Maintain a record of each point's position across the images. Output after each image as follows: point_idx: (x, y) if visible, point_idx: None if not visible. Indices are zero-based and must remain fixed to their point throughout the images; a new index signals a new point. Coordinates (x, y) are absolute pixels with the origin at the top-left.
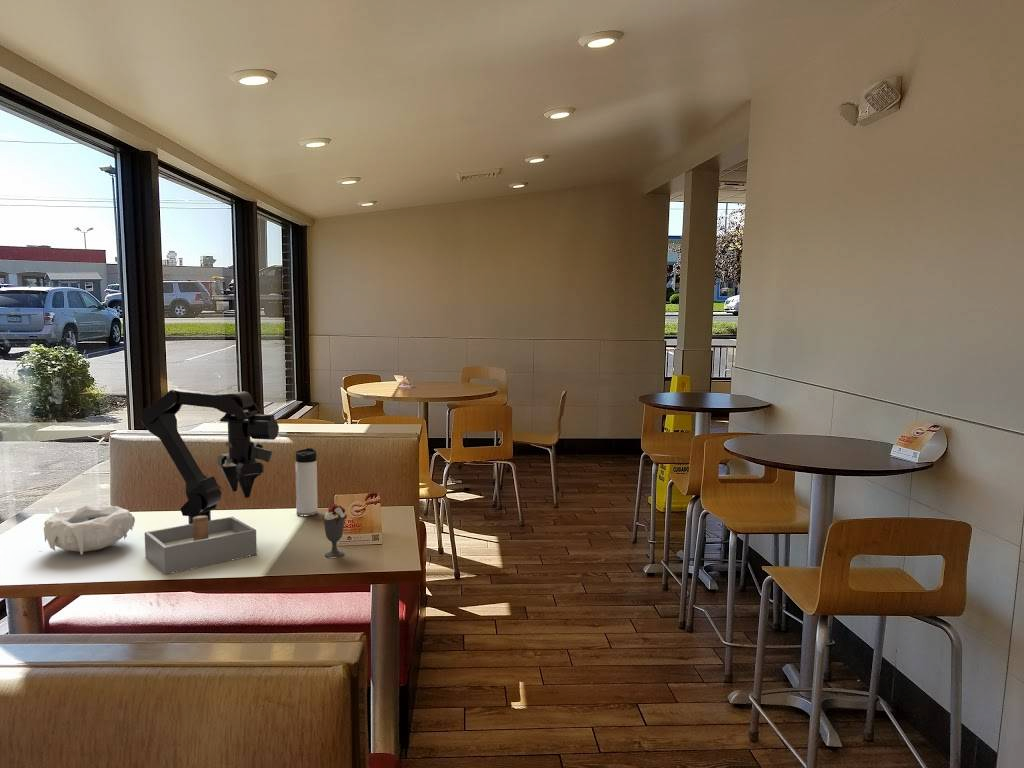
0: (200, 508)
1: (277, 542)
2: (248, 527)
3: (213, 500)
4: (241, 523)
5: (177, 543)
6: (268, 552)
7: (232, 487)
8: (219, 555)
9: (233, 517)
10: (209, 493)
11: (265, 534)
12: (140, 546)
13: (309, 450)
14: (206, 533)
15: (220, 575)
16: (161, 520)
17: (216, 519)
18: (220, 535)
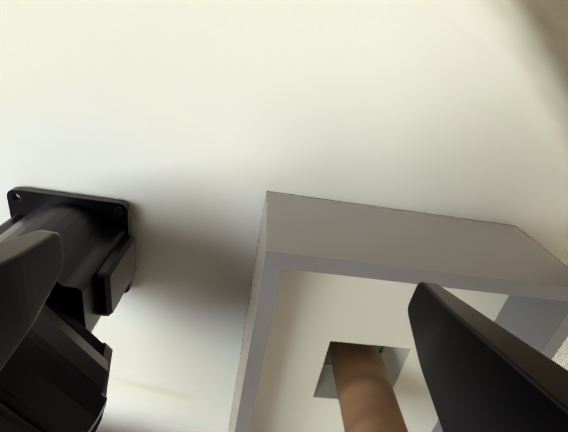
0: (106, 381)
1: (477, 71)
2: (530, 295)
3: (59, 341)
4: (437, 283)
5: (281, 409)
6: (539, 182)
7: (37, 304)
8: None
9: (292, 257)
10: (37, 423)
11: (310, 29)
12: (106, 404)
13: None
14: (399, 408)
15: None
16: None
17: (256, 326)
18: (316, 291)
